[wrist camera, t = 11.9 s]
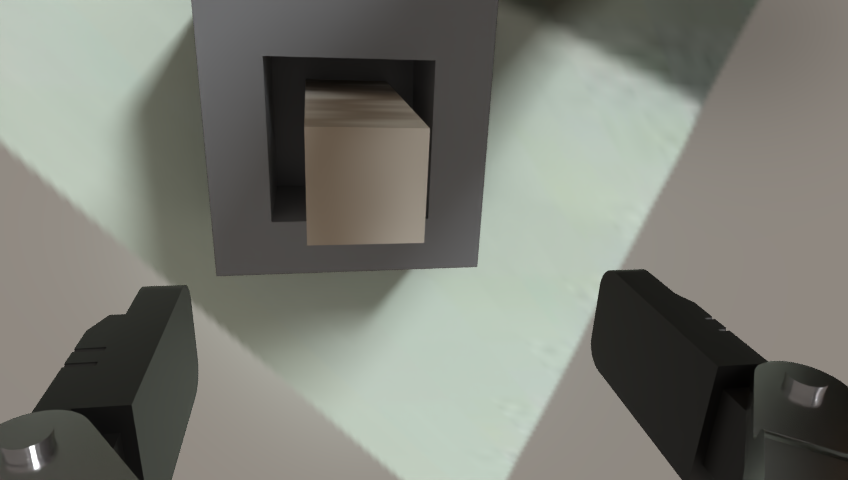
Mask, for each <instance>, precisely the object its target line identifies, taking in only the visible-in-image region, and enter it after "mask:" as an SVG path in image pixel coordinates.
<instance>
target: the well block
mask: <svg viewBox="0 0 848 480" xmlns="http://www.w3.org/2000/svg"><path fill="white" fill-rule="evenodd" d="M191 3H192V13H193V24H194V35H195V46H196V57H197V68H198V79H199V90H200V100H201V111H202V122H203V133H204V144H205V155H206V166H207V177H208V188H209V198H210V209H211V220H212V231H213V242H214V253H215V264H216V275H217V276H233V275H261V274H290V273H318V272H347V271H375V270H403V269H432V268H460V267H477V263H478V250H479V238H480V225H481V212H482V200H483V187H484V175H485V162H486V150H487V137H488V125H489V112H490V100H491V87H492V75H493V62H494V50H495V37H496V24H497V12H498V0H191ZM306 79H319V80H355V81H386V82H387V83H388V84H389V85H390V86H391V87H392V88H393V89H394V90H395V91H396V92H397V93H398V94H399V96H400V97H401V98H402V99H403V100H404V101H405V102H406V103H407V104H408V105H409V106H410V107H411V108H412V110H413V111H414V112H415V113H416V114H417V115H418V116H419V117H420V118H421V119H422V120H423V121H424V122H425V123H426V125H427V126H428V127H429V128H430V138H429V158H428V177H427V197H426V216H425V236H424V243H399V244H352V245H307V219H306V178H305V137H304V118H305V83H306Z"/></svg>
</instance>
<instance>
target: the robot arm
mask: <svg viewBox="0 0 848 480" xmlns="http://www.w3.org/2000/svg"><path fill="white" fill-rule="evenodd" d="M591 350H592V357H593V360H594V363H595V366H596V368H597V369H598V371H599V372H600V373H601V375H602V376H603V377H604V379H605V380H606V381H607V382H608V384H609V385H610V386H611V388H612V389H613V390H614V391H615V393H616V394H617V396H618V397H619V398H620V399H621V401H622V402H623V403H624V405H625V406H626V407H627V408H628V410H629V411H630V412H631V414H632V415H633V416H634V418H635V419H636V420H637V422H638V423H639V424H640V426H641V427H642V428H643V429H644V431H645V432H646V433H647V435H648V436H649V437H650V438H651V440H652V441H653V442H654V444H655V445H656V446H657V448H658V449H659V450H660V452H661V453H662V454H663V456H664V457H665V458H666V459H667V461H668V462H669V463H670V465H671V466H672V467H673V468H674V470H675V471H676V473H677V474H678V475H679V477H680V478H681V479H682V480H848V386H846V385H845V384H844V383H842V382H841V381H839V380H838V379H836V378H835V377H833V376H831V375H829V374H827V373H825V372H822V371H820V370H818V369H815V368H812V367H809V366H806V365H803V364H798V363H794V362H787V361H770V362H768V361H767V360H765V359H764V358H763V357H762V356H760V355H759V354H758V353H757V352H755V351H754V350H753V349H752V348H750V347H749V346H748V345H747V344H745V343H744V342H743V341H742V340H740V339H739V338H738V337H737V336H735V335H734V334H733V333H732V332H730V331H726V327H724V326H723V325H722V324H721V323H719V322H718V321H717V320H715V319H712V316H710V315H709V314H708V313H707V312H705V311H704V310H703V309H702V308H701V307H699V306H698V305H697V304H696V303H694V302H692V301H690V300H688V299H686V298H683V297H681V296H679V295H677V294H675V293H674V292H672V291H671V290H670V289H669V288H668V287H666V286H665V285H664V284H663V283H661V282H660V281H659V280H658V279H656V278H655V277H654V276H653V275H652V274H650V273H649V272H648V271H646V270H644V269H639V270H610V271H607V272H606V273H605V274H604V275H603V277H602V279H601V283H600V289H599V295H598V301H597V307H596V313H595V319H594V325H593V332H592V338H591ZM197 385H198V358H197V349H196V340H195V332H194V323H193V314H192V305H191V297H190V292H189V289H188V287H187V286H186V285H177V286H149V287H142V288H141V289H140V290H139V292H138V294H137V295H136V297H135V299H134V301H133V302H132V304H131V306H130V308H129V309H128V311H127V313H126V314H124V315H123V314H122V315H109V316H107V317H106V318H104V319H103V320H102V321H100V322H99V323H97V324H96V325H94V326H93V327H92V328H90V329H88V330H87V331H86V332H85V334H84V335H83V337H82V338H81V340H80V341H79V343H78V344H77V346H76V347H75V351H74V352H72V353H71V355H70V356H69V358H68V359H67V361H66V362H65V366H64V367H63V368H61V370H60V371H59V373H58V374H57V376H56V377H55V379H54V380H53V382H52V383H51V385H50V386H49V388H48V389H47V391H46V392H45V394H44V395H43V397H42V398H41V399H40V401H39V403H38V404H37V406H36V407H35V408H34V410H33V411H32V413H30V414H26V415H22V416H19V417H16V418H13V419H11V420H9V421H6V422H4V423H2V424H0V480H172V476H173V473H174V469H175V466H176V462H177V459H178V455H179V452H180V449H181V445H182V442H183V438H184V435H185V431H186V428H187V424H188V421H189V417H190V414H191V410H192V407H193V403H194V400H195V396H196V392H197Z"/></svg>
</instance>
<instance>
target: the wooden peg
mask: <svg viewBox="0 0 848 480" xmlns="http://www.w3.org/2000/svg"><path fill="white" fill-rule="evenodd" d="M304 137H305V178H306V219H307V245H352V244H399V243H424V236H425V216H426V197H427V177H428V158H429V138H430V128H429V127H428V126H427V125H426V123H425V122H424V121H423V120H422V119H421V118H420V117H419V116H418V115H417V114H416V113H415V112H414V111H413V110H412V108H411V107H410V106H409V105H408V104H407V103H406V102H405V101H404V100H403V99H402V98H401V97H400V96H399V94H398V93H397V92H396V91H395V90H394V89H393V88H392V87H391V86H390V85H389V84H388V83H387V82H386V81H355V80H319V79H306V83H305V118H304Z"/></svg>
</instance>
